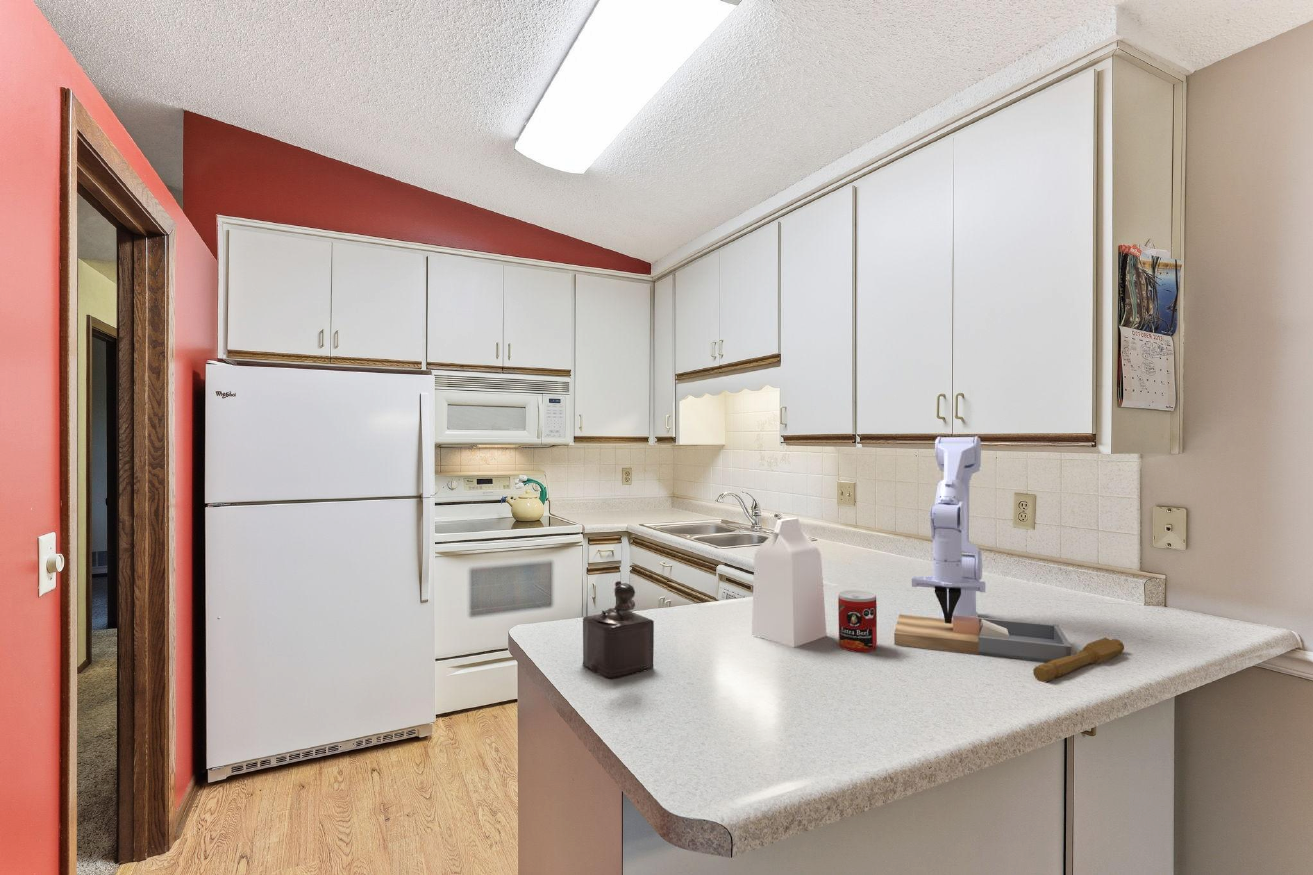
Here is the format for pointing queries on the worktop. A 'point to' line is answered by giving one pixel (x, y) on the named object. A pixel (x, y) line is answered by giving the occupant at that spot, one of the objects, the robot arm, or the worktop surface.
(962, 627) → the tile
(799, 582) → the milk
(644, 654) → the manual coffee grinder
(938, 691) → the worktop surface
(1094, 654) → the tap handle
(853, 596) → the canned food
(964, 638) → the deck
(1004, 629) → the tile
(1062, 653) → the tray
